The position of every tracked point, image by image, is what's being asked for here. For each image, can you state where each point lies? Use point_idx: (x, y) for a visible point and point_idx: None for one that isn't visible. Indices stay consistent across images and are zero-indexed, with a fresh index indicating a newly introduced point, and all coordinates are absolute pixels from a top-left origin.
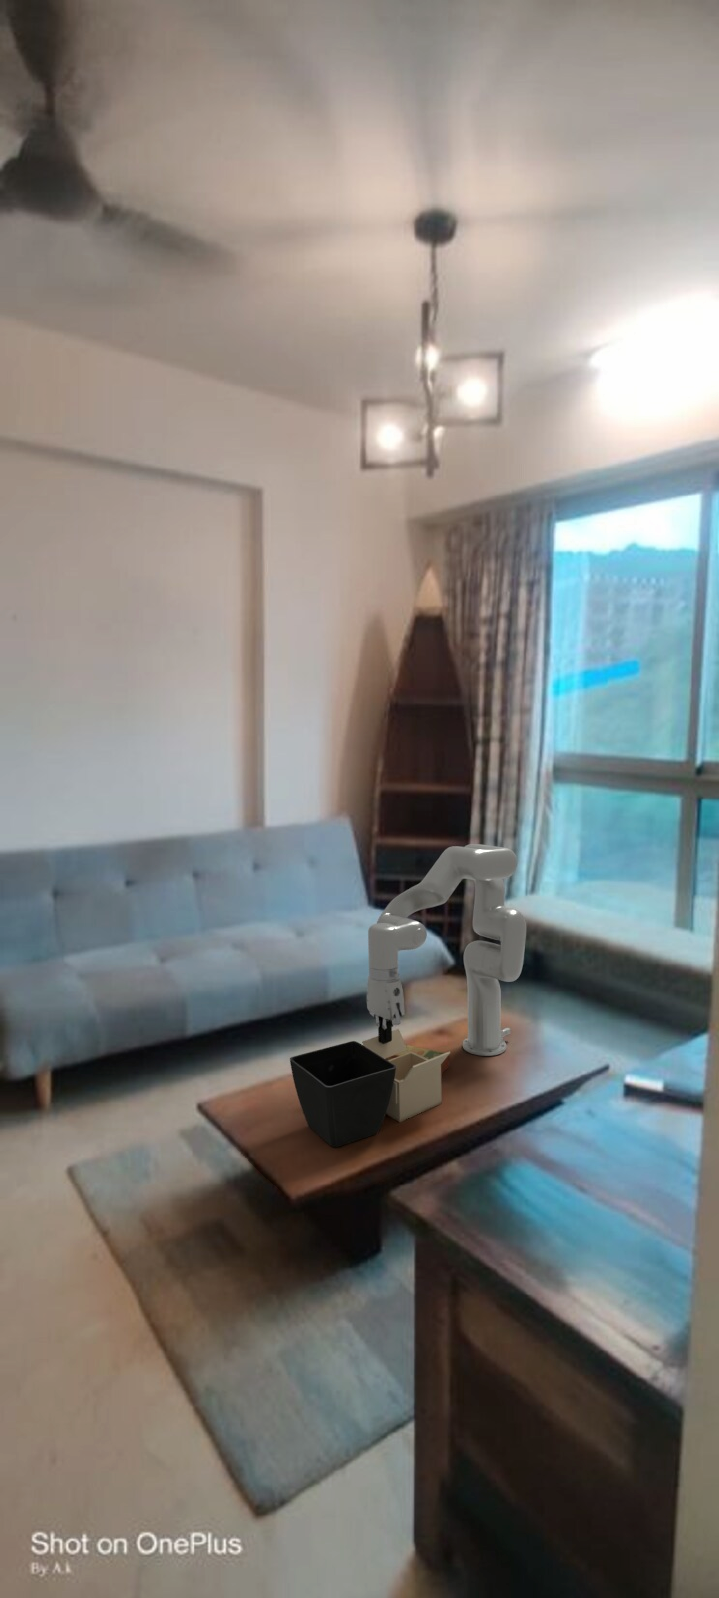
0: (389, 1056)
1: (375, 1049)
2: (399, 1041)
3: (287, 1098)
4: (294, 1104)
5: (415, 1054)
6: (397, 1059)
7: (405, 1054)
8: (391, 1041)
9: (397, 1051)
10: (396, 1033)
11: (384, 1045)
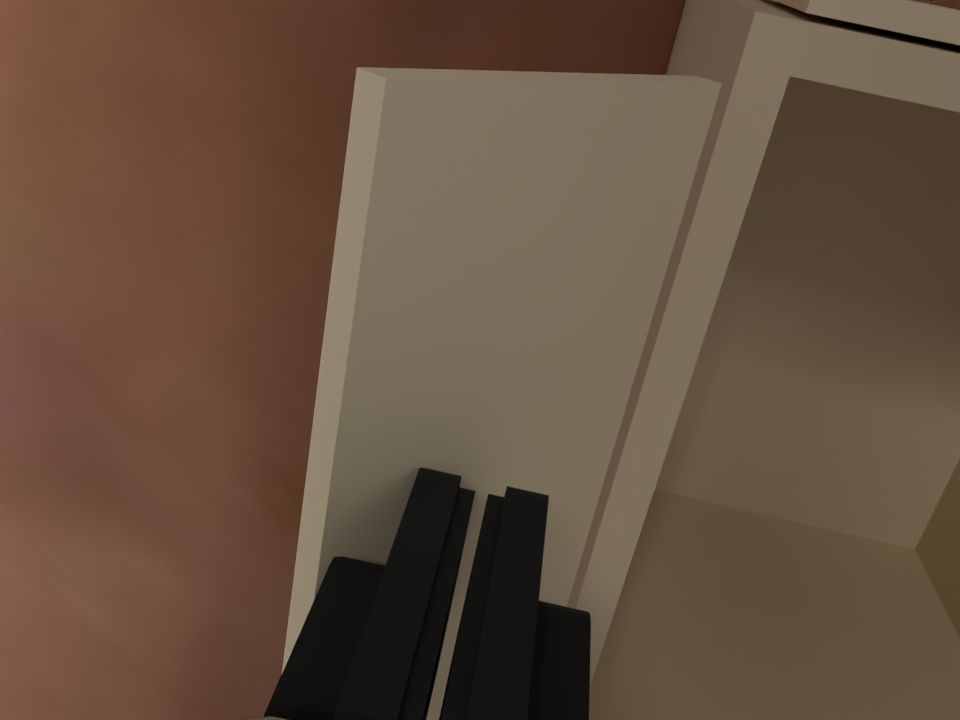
0: (600, 480)
1: (441, 704)
2: (570, 206)
3: (20, 677)
4: (120, 709)
5: (897, 71)
6: (691, 371)
7: (728, 184)
8: (490, 394)
9: (633, 319)
10: (442, 212)
11: (474, 554)
